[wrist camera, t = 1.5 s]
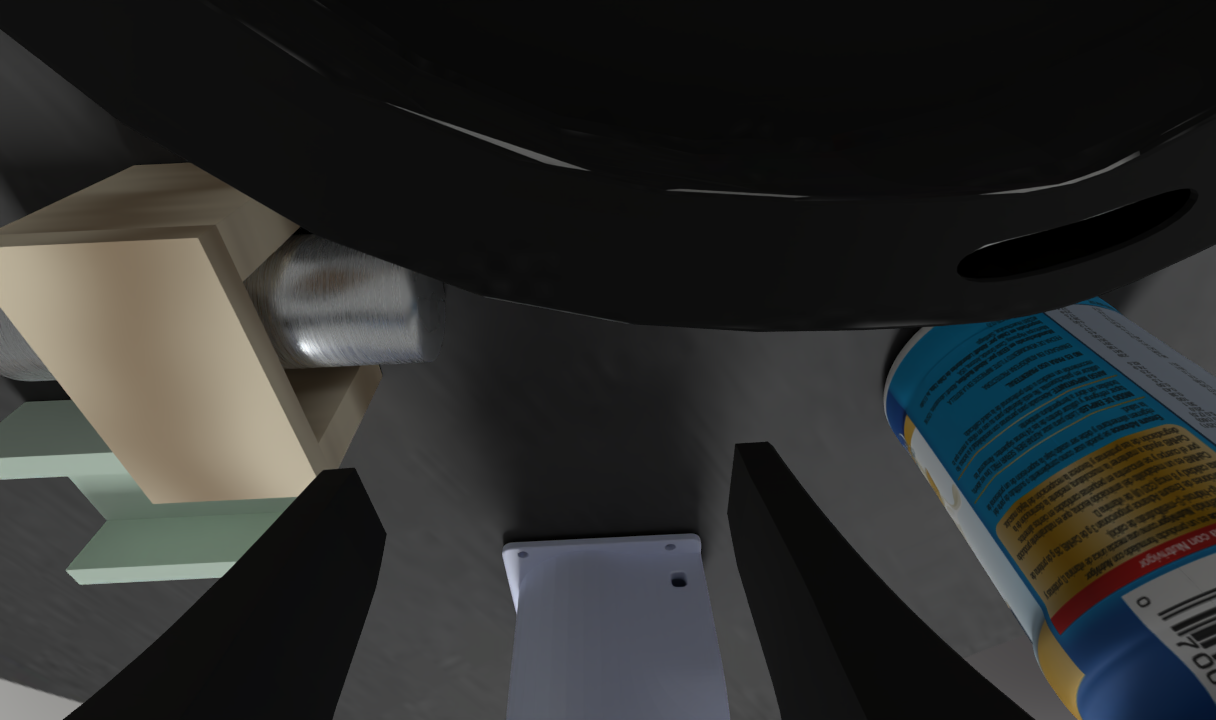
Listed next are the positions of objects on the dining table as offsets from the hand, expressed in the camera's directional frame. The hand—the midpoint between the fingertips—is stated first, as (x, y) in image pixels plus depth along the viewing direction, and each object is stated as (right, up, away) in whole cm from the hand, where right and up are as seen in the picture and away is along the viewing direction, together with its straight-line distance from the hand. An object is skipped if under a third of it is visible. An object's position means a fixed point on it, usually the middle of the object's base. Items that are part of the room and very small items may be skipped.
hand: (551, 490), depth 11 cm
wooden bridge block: (-10, +5, +8) cm, 14 cm away
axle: (-10, +5, +8) cm, 14 cm away
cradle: (-16, -2, +12) cm, 20 cm away
